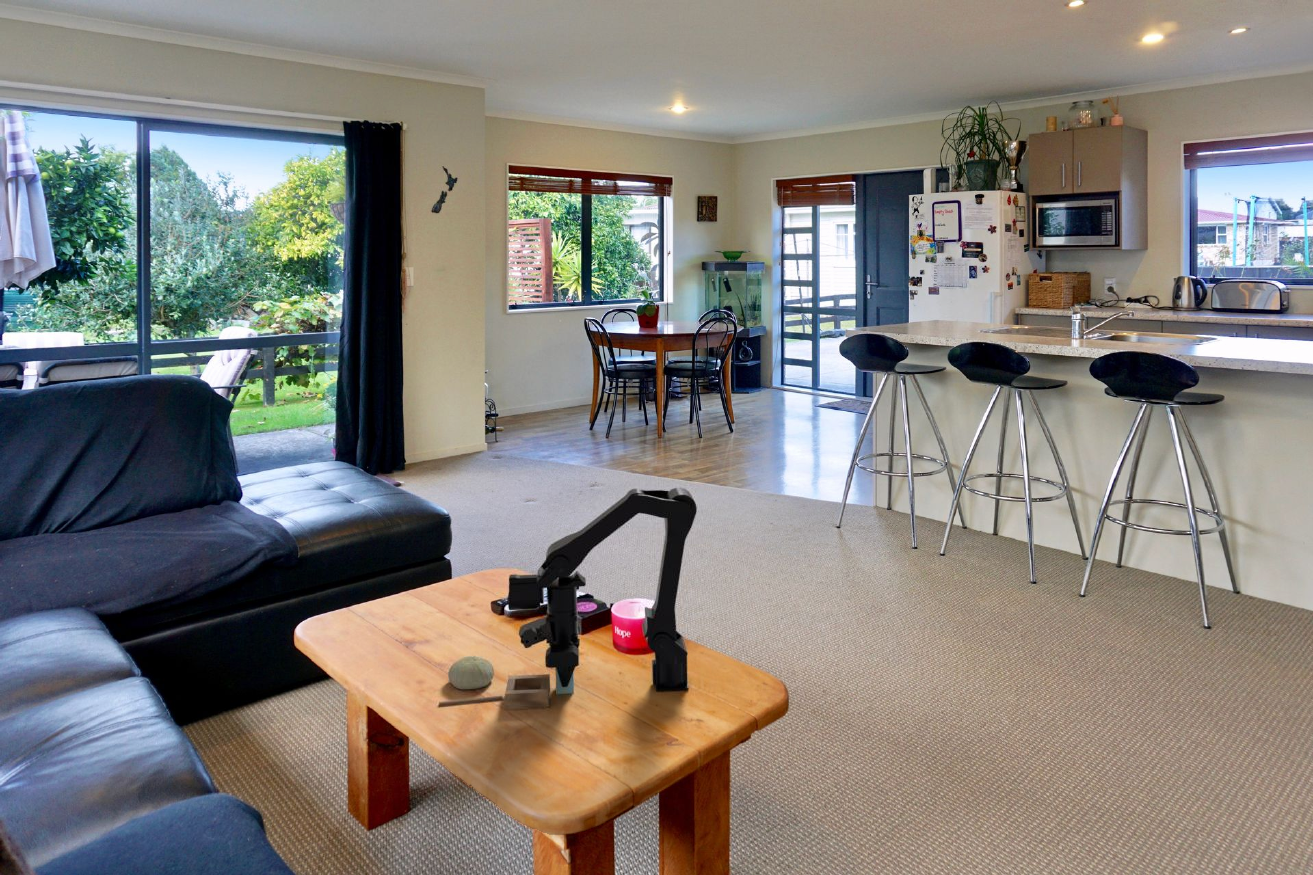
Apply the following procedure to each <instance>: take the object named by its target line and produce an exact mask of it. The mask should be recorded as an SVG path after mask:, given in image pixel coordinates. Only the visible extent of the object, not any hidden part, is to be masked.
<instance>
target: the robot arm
mask: <svg viewBox="0 0 1313 875" xmlns="http://www.w3.org/2000/svg"><path fill="white" fill-rule="evenodd" d="M697 507H698V506H697V504H696V501H695V500H694V497H693V495H692V494H691V492H690V491H688V490H687V489H686V488H683V487H674V488H671V489H670V490H668V489H667V490H666V489H639V488H632V489H630V490H629V491H627V492H626V494H625V495H624V496H623V497H622V498H621V499H619V500H618V501H616V502H614V504H612V506H610V507H609V508H607V509H606V510H604V511H603V512H602V513H601V514H599V515H598V516H597V517H596V518H594V519H593V520H592V521H590V523H588V524H587V525H585V526H584V527H583V528H581V529H579V531H577V532H573V533H571V534H568V535H565V536H564V537H561V538H560V539H558V540H556V541H555V542H553V543H551V544H550V545H549V546H548V548H547V550H546V554H545V559H544V561H543V563H542V564H541V565H540V567H539V568H538V569H537V572H536V573H537V574H514V573H513V574H509V577H508V593H507V606H508V607H507V608H508V611H524V610H525V611H527V610H530V611H531V610H538V609H539V608H541V605H542V604H545V590H544V589H546V597H547V598H546V600H547V603H546V604H547V610H546V616H544V617H542V618H538V619H535V620H532V621H530V622H527V623H525V624H522V625H521V626H520V627H519V631H518V636H519V638H520V644H521V645H523V647H524V648H525V649H528V648H532V646H535V645H537V644H539V643H541V642H544V641H545V640H546V642H545V644H548V645H549V647H548V648H547V649H546V650H545V658H544V659H545V660H544V661H545V662H544V663H545V668H547V669H552V668H553V669H555V668H557V671H558V675H559V678H560V682H561V685H562V687H568V684H569V682H570V679H571V677H572V674H573V672H574V673H575V669H576V667H578V666H580V650H579V648H580V643H581V641H580V638H579V635H581V620H580V619H579V618H578V616H579V615H578V614H579V613H578V611H579V610H578V608H579V607H578V598H577V597H578V595H577V588H579V587H581V588H582V587H586V585H587V584H586V583H587V581H586V577H585V576H583V575H582V574H580V572H579V571H578V570H576V569H578V567H579V566H580V565H581V564H582V563H583V562H584V560H585V559H586V557H587V556H588V555H589V554H590V553H591V551H592V550H593V549H594V548H595V547H597V546H598V545H600V544H601V543H602V542H603V541H604V540H606V539H607V538H609V537H610V536H611V535H612V534H613V533H615V532H616V531H617V530H618V529H621V527H623V526H624V525H625V524H627V523H628V522H629V521H630V520H632V519H633V518H634V517H636V516H637V515H638V514H645V515H648V516H653V517H657V518H660V519H661V518H662V519H663V520H664V530H665V531H664V533H665V534H664V541H663V548H662V555H661V562H660V566H659V568H660V569H659V574H658V581H657V588H656V595H655V600H654V603H653V605H652V607H648V606H645V607H644V620H643V622H642V623H641V627H642V633H643V637H644V639H645V640H646V643H647V647H648V649H650V651H651V652H653V653H654V659H652V660H651V679H652V680H651V681H652V684H653V685H654V687H655V691H656V692H663V691H664V692H666V691H667V692H669V691H685V690H686V691H687V690H689V689H690V687H689V682H688V653H689V652H688V650H687V647H686V643H685V639H684V637H683V635H682V634H680V632H678V631H677V621H676V601H677V595H678V589H679V583H680V575H681V570H682V562H683V557H684V550H685V543H686V539H687V538H688V535H689V533H690V531H691V529H692V526H693V524H694V522H695V518H696V515H697V512H698V511H697V510H698V508H697ZM575 570H576V571H575Z"/></svg>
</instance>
